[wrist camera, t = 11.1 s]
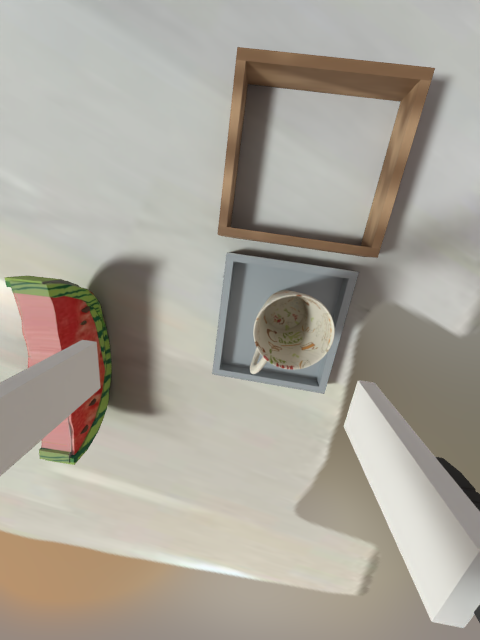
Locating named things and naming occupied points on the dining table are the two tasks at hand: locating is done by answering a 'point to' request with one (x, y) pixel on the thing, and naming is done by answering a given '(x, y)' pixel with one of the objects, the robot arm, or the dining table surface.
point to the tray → (248, 299)
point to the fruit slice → (56, 335)
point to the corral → (334, 79)
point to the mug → (291, 331)
